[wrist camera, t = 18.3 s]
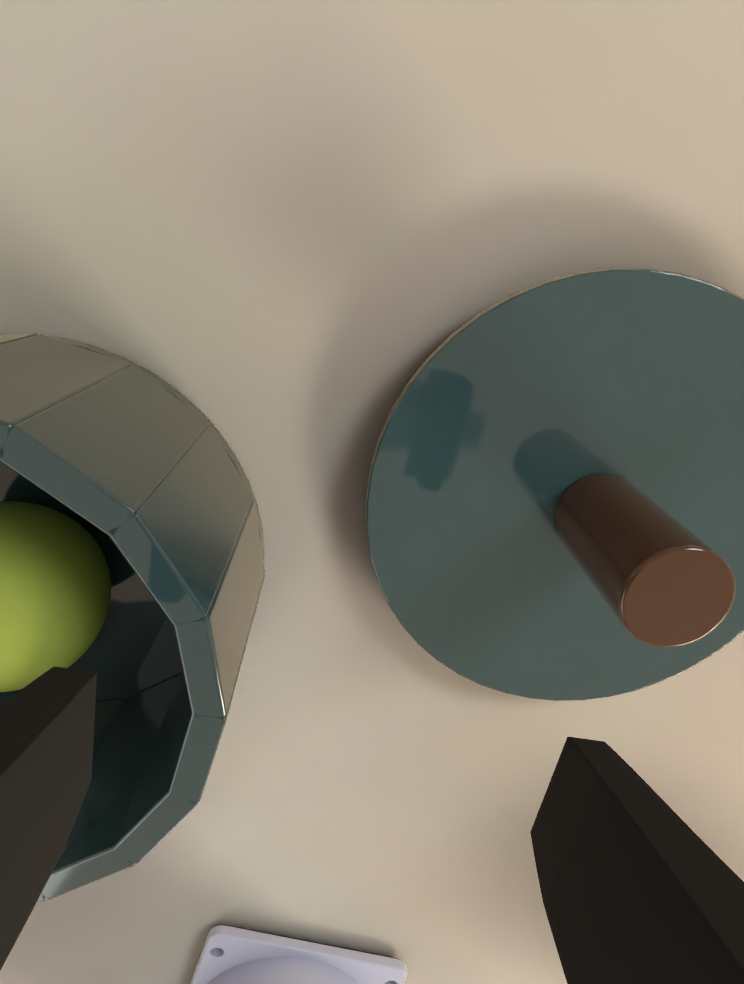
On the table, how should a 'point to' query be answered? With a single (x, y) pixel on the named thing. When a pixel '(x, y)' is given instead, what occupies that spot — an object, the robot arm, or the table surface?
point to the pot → (137, 578)
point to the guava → (47, 592)
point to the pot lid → (570, 487)
